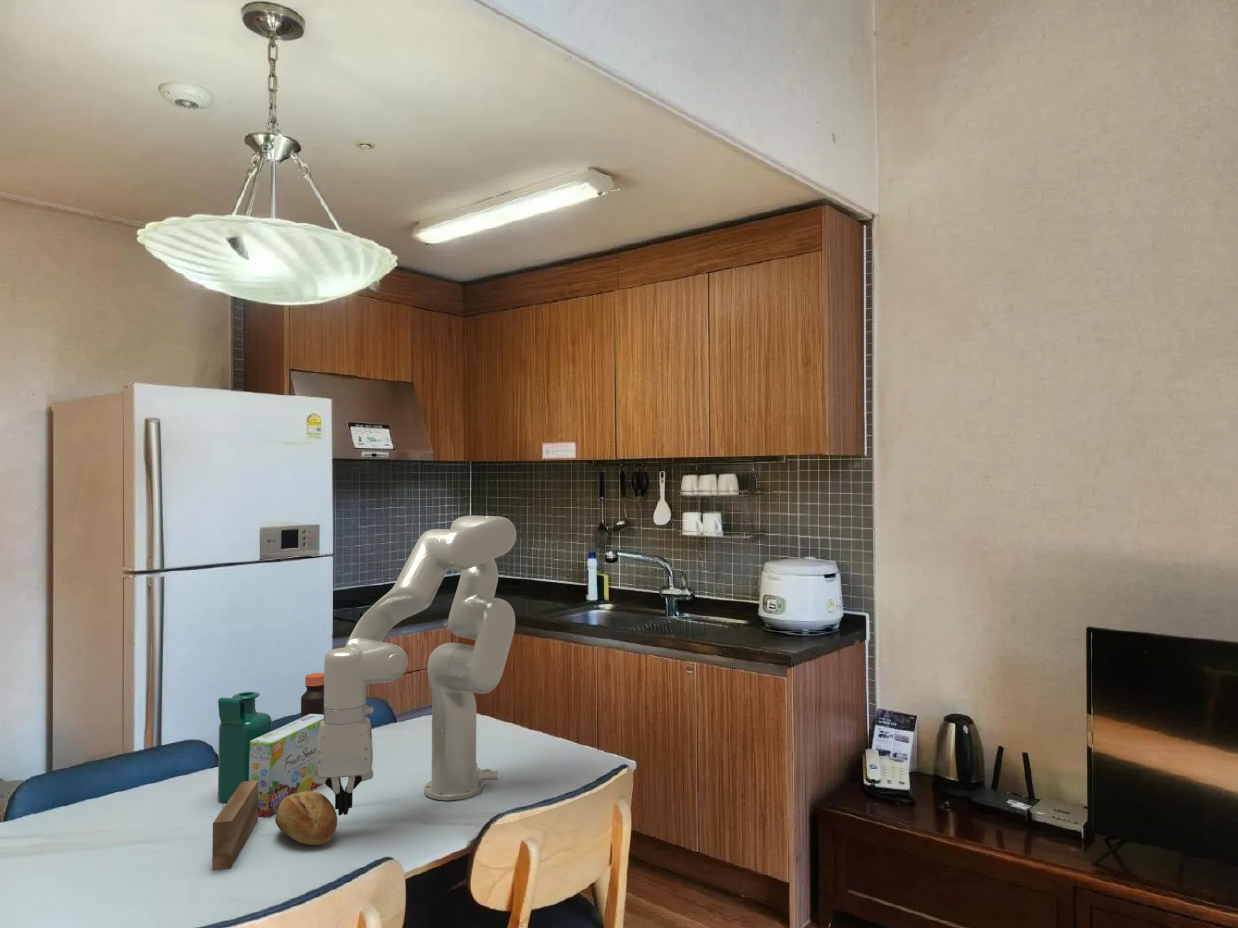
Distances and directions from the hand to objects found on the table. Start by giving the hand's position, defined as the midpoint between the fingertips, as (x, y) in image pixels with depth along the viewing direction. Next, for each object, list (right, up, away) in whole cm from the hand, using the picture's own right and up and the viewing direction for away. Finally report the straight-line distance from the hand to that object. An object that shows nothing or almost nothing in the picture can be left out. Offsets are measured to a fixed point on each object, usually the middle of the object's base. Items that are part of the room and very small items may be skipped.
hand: (343, 811), depth 150 cm
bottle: (-22, -6, +44) cm, 50 cm away
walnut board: (-18, -4, -4) cm, 19 cm away
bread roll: (-7, -4, -1) cm, 8 cm away
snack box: (-18, -5, +18) cm, 26 cm away
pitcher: (-28, -5, +18) cm, 34 cm away
